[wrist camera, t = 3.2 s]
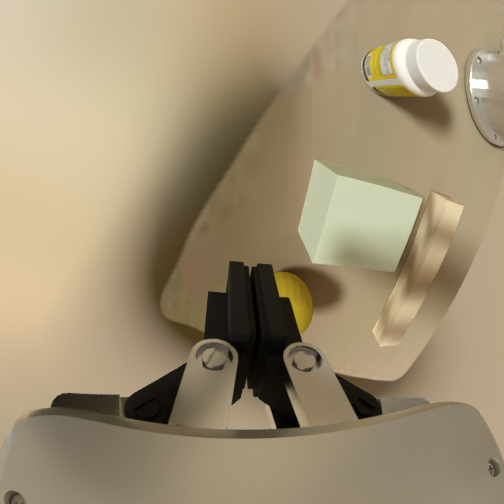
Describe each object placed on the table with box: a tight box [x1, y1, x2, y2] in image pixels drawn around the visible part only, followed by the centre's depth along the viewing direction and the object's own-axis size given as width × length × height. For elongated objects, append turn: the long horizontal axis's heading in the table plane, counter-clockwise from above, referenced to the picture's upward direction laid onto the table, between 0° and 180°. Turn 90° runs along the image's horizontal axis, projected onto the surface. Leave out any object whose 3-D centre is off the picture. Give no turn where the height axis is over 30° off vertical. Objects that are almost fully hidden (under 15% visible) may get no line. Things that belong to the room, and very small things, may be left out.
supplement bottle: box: [361, 39, 458, 97], centre depth 15 cm, size 5×5×8 cm
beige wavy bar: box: [372, 191, 464, 346], centre depth 28 cm, size 20×3×3 cm, turn 172°
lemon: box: [274, 272, 313, 335], centre depth 25 cm, size 6×6×8 cm
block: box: [298, 160, 423, 272], centre depth 22 cm, size 7×8×6 cm
